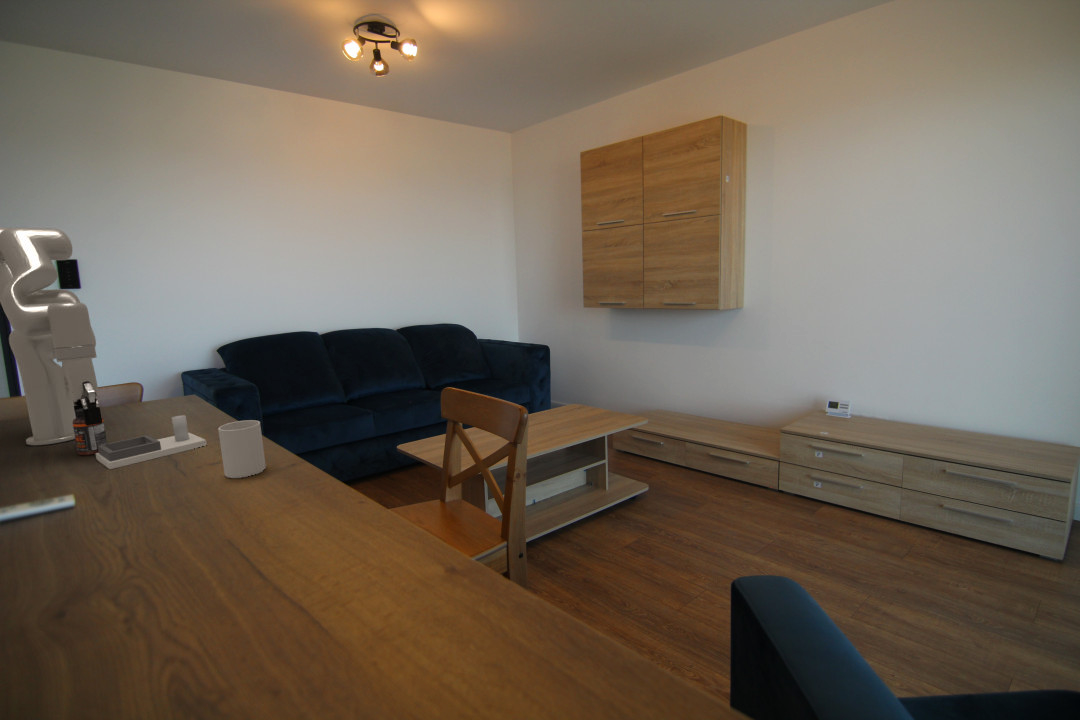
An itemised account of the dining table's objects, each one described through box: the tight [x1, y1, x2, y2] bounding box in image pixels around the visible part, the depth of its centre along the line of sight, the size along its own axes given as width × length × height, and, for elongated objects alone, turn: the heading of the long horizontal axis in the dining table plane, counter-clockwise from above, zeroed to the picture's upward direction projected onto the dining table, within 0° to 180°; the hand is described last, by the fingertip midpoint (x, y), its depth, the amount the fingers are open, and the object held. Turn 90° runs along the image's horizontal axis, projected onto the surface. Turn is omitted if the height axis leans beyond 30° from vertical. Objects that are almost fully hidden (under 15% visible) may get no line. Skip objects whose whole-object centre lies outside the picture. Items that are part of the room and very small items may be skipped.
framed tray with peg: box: [95, 414, 207, 470], centre depth 135 cm, size 12×20×8 cm, turn 140°
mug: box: [217, 419, 266, 479], centre depth 119 cm, size 12×8×10 cm, turn 48°
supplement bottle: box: [73, 408, 108, 456], centre depth 136 cm, size 6×6×11 cm
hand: (89, 421), depth 136 cm, fingers open, 9 cm apart
